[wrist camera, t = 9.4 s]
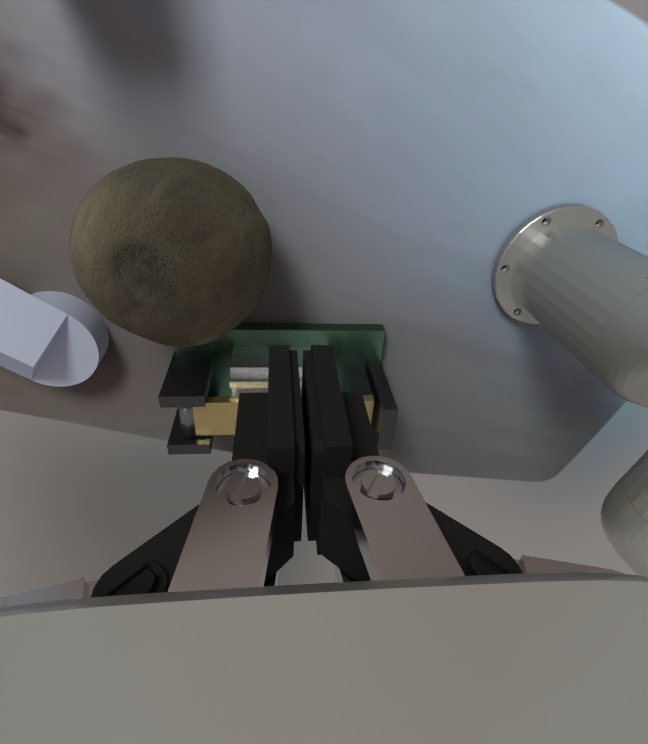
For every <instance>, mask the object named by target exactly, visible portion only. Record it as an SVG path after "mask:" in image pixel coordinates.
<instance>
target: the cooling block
mask: <svg viewBox="0 0 648 744" xmlns="http://www.w3.org/2000/svg"><path fill="white" fill-rule="evenodd" d="M384 336H385V329H384V327H383V325H382V324H261V323H240V324H238V325H237V326H236V327H235V328H234V329H233V330H231V331H230V332H229V333H228V334H226V335H225V336H223V337H221V338H220V339H218V340H216V341H213V342H210V343H206V344H202V345H197V346H191V347H175V346H174V349H175V352H174V355H173V357H172V360H171V363H170V366H169V369H168V371H167V374H166V377H165V380H164V383H163V385H162V388H161V391H160V394H159V396H158V397H159V403H160V407H205V406H206V402H207V397H209V396H239V394H240V393H268V367H269V345H289V350H297V354H298V366H299V378H300V390H301V395H302V367H303V350H311V345H332V349H333V354H334V359H335V363H336V368H337V373H338V378H339V382H340V387H341V392H361V393H362V395H373V398H374V407H373V414H372V420H371V428H372V431H373V435H374V439H375V442H376V446H377V449H391V444H392V439H393V433H394V428H395V422H396V417H397V412H398V409H397V406H396V403H395V400H394V398H393V395H392V392H391V389H390V387H389V384H388V381H387V379H386V376H385V373H384V370H383V368H382V365H381V356H382V350H383V343H384ZM213 436H214V435H196V436H194V437H191V438H187V437H184V436H183V435H182V430H181V423H180V417H179V410H178V409H177V413H176V416H175V420H174V423H173V426H172V430H171V433H170V437H169V440H168V444H167V447H168V453H169V454H209V453H211V448H212V442H213Z"/></svg>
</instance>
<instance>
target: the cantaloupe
mask: <svg viewBox="0 0 648 744" xmlns="http://www.w3.org/2000/svg"><path fill="white" fill-rule="evenodd" d="M271 255H272V242H271V235H270V230H269V226H268V223H267V221H266V219H265V218H264V216H263V215H262V213H261V212H260V210H259V208H258V207H257V205H256V203H255V201H254V199H253V198H252V196H251V194H250V193H249V192H248V191H247V190H246V188H244V187H243V186H242V185H241V184H240V183H239V182H237V181H236V180H235V179H234V178H232V177H231V176H230V175H228V174H226V173H225V172H223V171H221V170H220V169H217V168H215V167H213V166H210V165H208V164H206V163H203V162H200V161H196V160H191V159H186V158H156V159H146V160H140V161H137V162H134V163H131V164H129V165H126V166H124V167H122V168H119V169H117V170H115V171H113V172H111V173H109V174H108V175H106V176H104V177H103V178H102V179H100V180H99V181H98V182H97V183H96V184H95V185H94V186H93V187H92V188H91V189H90V190H89V191H88V192H87V194H86V195H85V196H84V198H83V200H82V202H81V203H80V205H79V207H78V210H77V212H76V214H75V216H74V219H73V223H72V227H71V233H70V257H71V262H72V266H73V270H74V273H75V276H76V279H77V281H78V284H79V286H80V287H81V289H82V291H83V292H84V294H85V295H86V296H87V298H88V299H89V300H90V301H91V303H92V304H93V305H94V306H95V307H96V308H97V309H98V310H99V312H100V313H101V314H102V315H103V316H104V317H105V318H107V319H108V320H109V321H111V322H112V323H114V324H116V325H118V326H119V327H121V328H123V329H125V330H127V331H129V332H131V333H134V334H136V335H138V336H141V337H143V338H146V339H149V340H151V341H154V342H156V343H160V344H164V345H169V346H175V347H191V346H197V345H202V344H206V343H210V342H213V341H216V340H218V339H220V338H221V337H223V336H225V335H226V334H228V333H229V332H230V331H231V330H233V329H234V328H235V327H236V326H237V325H238V324H240V323H241V322H242V321H243V320H244V319H245V318H246V317H247V316H248V315H249V314H250V313H251V312H252V311H253V310H254V309H255V308H256V306H257V305H258V303H259V301H260V299H261V297H262V294H263V291H264V289H265V285H266V282H267V278H268V274H269V268H270V262H271Z"/></svg>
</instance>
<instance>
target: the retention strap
mask: <svg viewBox="0 0 648 744" xmlns="http://www.w3.org/2000/svg"><path fill="white" fill-rule="evenodd" d="M363 399H364V402H365V406H366V409H367V413H368V417H369V420H370V424H371V420H372V414H373V407H374V398H373V395H363ZM238 401H239V396H209V397H207V402H206V406H205V407H178V410H179V417H180V423H181V430H182V435H183V436H184V437H187V438H191V437H194V436H196V435H235V428H236V419H237V410H238Z"/></svg>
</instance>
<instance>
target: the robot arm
mask: <svg viewBox="0 0 648 744" xmlns="http://www.w3.org/2000/svg"><path fill="white" fill-rule="evenodd" d="M543 219H544V220H543ZM492 286H493V292H494V295H495V299H496V300H497V302H498V304H499V305H500V307H501V308H502V309H503V310H504V311H505V312H506V313H507V314H508V315H509V316H510V317H512V318H513V319H515V320H518V321H520V322H522V323H527V324H541V325H542V326H543V327H544V328H545V329H546V330H547V331H548V332H550V333H551V334H552V335H553V336H554V337H555V338H556V339H557V340H558V341H559V342H560V343H561V344H562V345H563V346H564V347H565V348H566V349H568V350H569V351H570V352H571V353H572V354H573V355H574V356H575V357H576V358H577V359H578V360H579V361H580V362H581V363H582V364H583V365H585V366H586V367H587V368H588V369H589V370H590V371H591V372H592V373H593V374H594V375H595V376H596V377H597V378H598V379H599V380H601V381H602V382H603V383H604V384H605V385H606V386H607V387H608V388H609V389H610V390H612V391H613V392H614V393H615V394H617V395H618V396H620V397H621V398H623V399H625V400H627V401H629V402H632V403H634V404H637V405H640V406H644V407H648V256H646V255H644V254H642V253H640V252H638V251H636V250H634V249H632V248H630V247H628V246H626V245H624V244H622V243H620V242H618V241H617V235H616V232H615V229H614V227H613V225H612V224H611V222H610V221H609V220H608V218H607V217H605V216H604V215H603V214H602V213H600V212H599V211H597V210H594V209H592V208H590V207H586V206H583V205H578V204H565V205H559V206H554V207H551V208H549V209H546V210H543V211H541V212H539V213H537V214H536V215H534V216H532V217H530V218H529V219H528V220H526V221H525V222H524V223H523V224H521V225H520V226H519V227H518V228H517V229H516V230H515V231H514V232H513V233H512V234H511V235H510V237H509V238H508V239H507V241H506V242H505V244H504V245H503V246H502V248H501V250H500V252H499V254H498V256H497V259H496V262H495V265H494V268H493V275H492ZM303 486H304V495H305V509H306V523H307V537H308V541H315V540H316V545H317V554H318V555H321V554H322V555H323V556H324V557H326V558H327V559H328V560H329V561H331V562H332V563H333V564H334V565H335V576H336V579H337V583H321V584H303V585H284V586H277V582H278V570H279V569H280V568H281V567H282V566H283V565H284V564H285V563H286V562H287V561H288V560H289V559H290V558H292V557H293V549H294V541H301V530H302V507H303ZM601 523H602V527H603V530H604V532H605V534H606V536H607V538H608V540H609V542H610V543H611V545H612V546H613V548H614V549H615V551H616V552H617V553H618V554H619V555H620V557H621V558H622V559H623V560H624V561H625V562H626V563H627V564H628V565H629V566H630V567H631V568H632V569H633V570H634V571H635V572H636V573H637V574H638V575H628V574H624V573H621V572H617V571H614V570H611V569H605V568H599V567H593V566H587V565H580V564H574V563H568V562H562V561H556V560H550V559H543V558H537V557H531V556H525V555H522V557H521V559H520V560H517V559H513V558H512V557H511V556H510V555H509V554H508V553H507V552H506V551H504V550H503V549H502V548H500V547H499V546H497V545H495V544H494V543H492V542H490V541H489V540H487V539H485V538H483V537H482V536H480V535H479V534H477V533H475V532H474V531H472V530H471V529H469V528H467V527H465V526H464V525H462V524H460V523H459V522H457V521H456V520H454V519H452V518H451V517H449V516H447V515H445V514H444V513H442V512H441V511H439V510H437V509H436V508H434V507H432V506H431V505H429V504H427V503H426V502H425V501H424V499H423V497H422V495H421V493H420V492H419V490H418V488H417V486H416V484H415V482H414V480H413V479H412V477H411V475H410V473H409V472H408V471H407V470H406V468H405V467H403V466H402V465H401V464H399V463H398V462H396V461H394V460H392V459H390V458H387V457H382V456H379V453H378V450H377V446H376V442H375V439H374V435H373V431H372V428H371V424H370V420H369V417H368V413H367V409H366V406H365V402H364V399H363V395H362V393H361V392H341V387H340V382H339V378H338V373H337V368H336V363H335V359H334V354H333V349H332V345H311V350H303V367H302V395H301V390H300V378H299V366H298V354H297V350H289V345H269V367H268V393H240V394H239V401H238V410H237V419H236V428H235V438H234V447H233V457H232V461H230V462H227V463H226V464H224V465H222V466H220V467H219V468H218V469H217V470H215V471H214V472H213V473H212V475H211V477H210V478H209V480H208V482H207V485H206V488H205V491H204V493H203V496H202V499H201V502H200V504H199V505H197V506H196V507H195V508H193V509H192V510H190V511H189V512H188V513H186V514H185V515H184V516H182V517H181V518H179V519H178V520H176V521H175V522H173V523H172V524H171V525H169V526H168V527H166V528H165V529H164V530H162V531H161V532H160V533H158V534H157V535H155V536H154V537H152V538H151V539H150V540H148V541H147V542H146V543H144V544H143V545H141V546H140V547H138V548H137V549H136V550H134V551H133V552H131V553H130V554H129V555H127V556H126V557H124V558H123V559H122V560H120V561H119V562H117V563H116V564H115V565H113V566H112V567H111V568H110V569H109V570H108V571H106V572H105V573H104V574H103V575H102V576H101V578H100V579H97V580H93V581H89V582H86V579H85V577H81V578H78V579H73V580H70V581H65V582H62V583H57V584H53V585H49V586H45V587H41V588H37V589H33V590H29V591H25V592H21V593H17V594H13V595H9V596H5V597H1V598H0V744H648V450H647V452H646V453H644V455H643V456H642V457H641V458H640V459H639V460H638V461H637V462H636V463H635V464H634V465H633V466H632V467H631V468H630V469H629V471H628V472H627V473H625V475H624V476H623V477H622V478H621V479H620V480H619V481H618V482H617V483H616V484H615V485H614V487H613V488H612V490H610V492H609V493H608V495H607V496H606V498H605V500H604V502H603V505H602V509H601Z"/></svg>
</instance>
